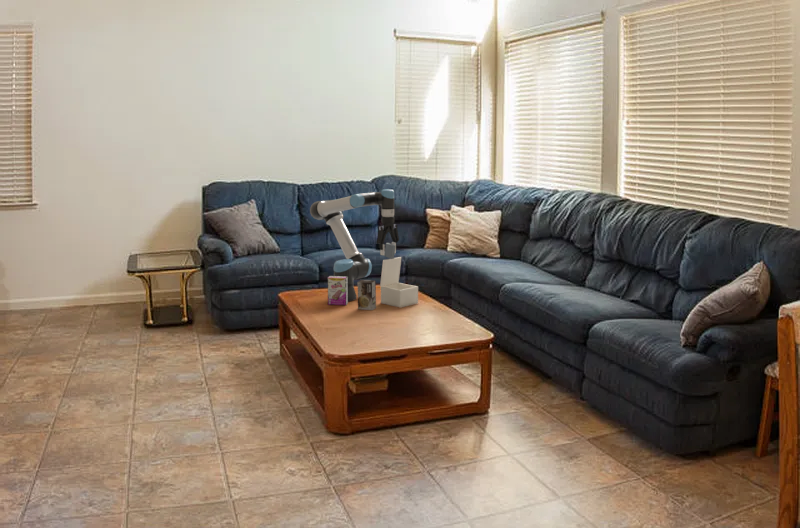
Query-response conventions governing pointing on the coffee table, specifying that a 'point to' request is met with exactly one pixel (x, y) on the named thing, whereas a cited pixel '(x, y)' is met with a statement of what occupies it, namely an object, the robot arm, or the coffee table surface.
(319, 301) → the coffee table surface
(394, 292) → the carton
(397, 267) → the flap
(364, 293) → the coffee box
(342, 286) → the candy bar box
